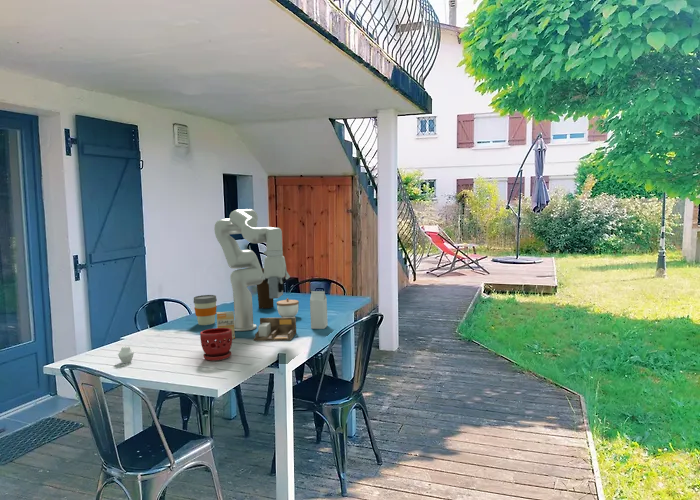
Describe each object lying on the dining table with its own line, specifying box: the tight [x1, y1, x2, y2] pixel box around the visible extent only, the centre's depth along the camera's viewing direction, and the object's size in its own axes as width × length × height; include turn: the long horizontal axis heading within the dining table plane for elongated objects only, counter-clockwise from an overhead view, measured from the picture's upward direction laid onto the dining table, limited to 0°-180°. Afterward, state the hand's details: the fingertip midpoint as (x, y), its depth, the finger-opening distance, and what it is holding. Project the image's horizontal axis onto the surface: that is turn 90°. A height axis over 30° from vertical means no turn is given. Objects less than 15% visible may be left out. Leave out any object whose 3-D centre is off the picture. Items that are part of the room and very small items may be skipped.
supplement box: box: [216, 310, 236, 340], centre depth 251 cm, size 8×5×13 cm, turn 105°
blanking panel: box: [269, 277, 284, 299], centre depth 245 cm, size 4×10×10 cm, turn 173°
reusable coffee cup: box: [193, 294, 217, 326], centre depth 287 cm, size 13×13×15 cm
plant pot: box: [199, 327, 233, 362], centre depth 218 cm, size 13×13×12 cm
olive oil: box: [256, 267, 275, 309], centre depth 327 cm, size 11×11×25 cm
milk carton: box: [309, 290, 329, 330], centre depth 266 cm, size 7×7×19 cm
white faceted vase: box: [117, 345, 135, 364], centre depth 217 cm, size 6×6×7 cm
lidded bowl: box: [276, 297, 300, 318], centre depth 295 cm, size 13×13×11 cm
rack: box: [253, 316, 297, 342], centre depth 251 cm, size 18×14×8 cm
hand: (276, 291), depth 246 cm, fingers closed on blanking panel, 4 cm apart
